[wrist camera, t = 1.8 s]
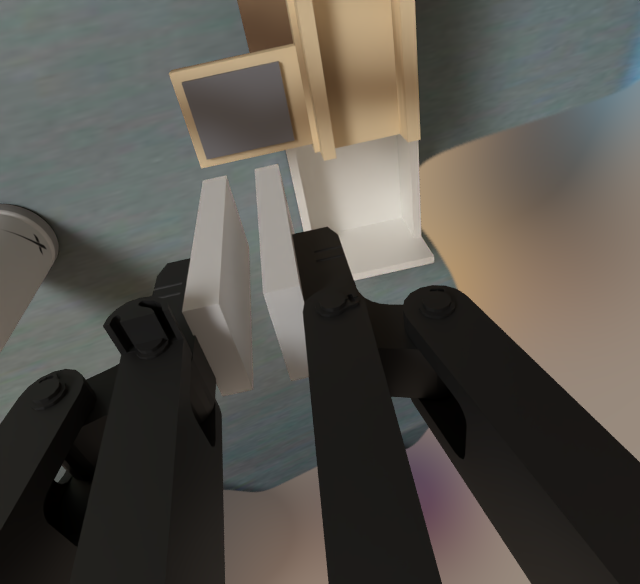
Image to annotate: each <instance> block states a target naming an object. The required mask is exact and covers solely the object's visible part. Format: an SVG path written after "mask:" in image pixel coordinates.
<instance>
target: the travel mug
mask: <svg viewBox="0 0 640 584" xmlns="http://www.w3.org/2000/svg"><path fill="white" fill-rule="evenodd" d="M58 252H59V244H58V240H57V237H56V235H55V233H54V231H53V230H52V228H51V227H50V226H49V225H48V224H47V223H46V222H45V221H44V220H43V219H42V218H41V217H39V216H38V215H36V214H35V213H33V212H31V211H29V210H27V209H24V208H22V207H18V206H14V205H8V204H0V352H1V351H2V349H3V347H4V346H5V344H6V342H7V341H8V339H9V337H10V336H11V334H12V332H13V331H14V329H15V327H16V326H17V324H18V322H19V320H20V319H21V317H22V315H23V314H24V312H25V310H26V309H27V307H28V305H29V304H30V302H31V300H32V299H33V297H34V295H35V294H36V292H37V290H38V289H39V287H40V285H41V284H42V282H43V280H44V278H45V277H46V275H47V273H48V272H49V270H50V268H51V267H52V265H53V263H54V262H55V260H56V258H57V256H58Z"/></svg>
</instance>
